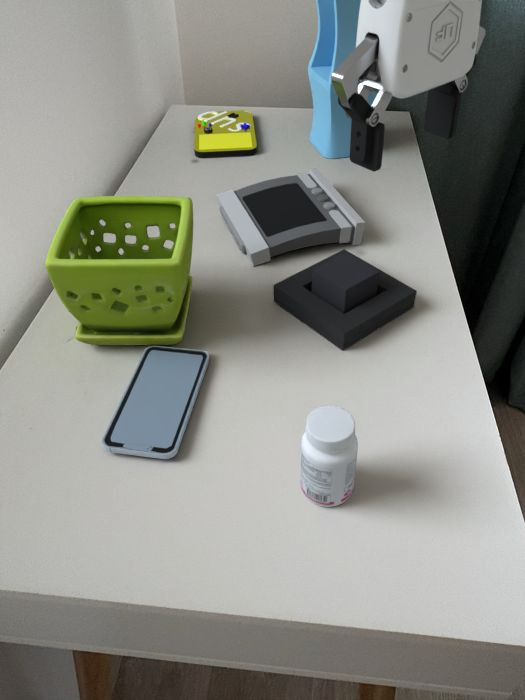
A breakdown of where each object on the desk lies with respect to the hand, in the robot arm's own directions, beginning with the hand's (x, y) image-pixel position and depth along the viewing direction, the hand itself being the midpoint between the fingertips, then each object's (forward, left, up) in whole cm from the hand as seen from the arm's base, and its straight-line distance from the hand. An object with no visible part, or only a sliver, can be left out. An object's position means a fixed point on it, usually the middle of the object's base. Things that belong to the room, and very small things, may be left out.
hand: (403, 149), depth 56 cm
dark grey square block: (0, -7, -22) cm, 23 cm away
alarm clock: (-2, -27, -23) cm, 36 cm away
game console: (-6, -60, -23) cm, 65 cm away
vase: (-23, -47, -23) cm, 57 cm away
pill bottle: (+15, +15, -23) cm, 31 cm away
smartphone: (+25, -1, -23) cm, 34 cm away
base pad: (0, -7, -23) cm, 24 cm away
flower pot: (+23, -15, -23) cm, 36 cm away
